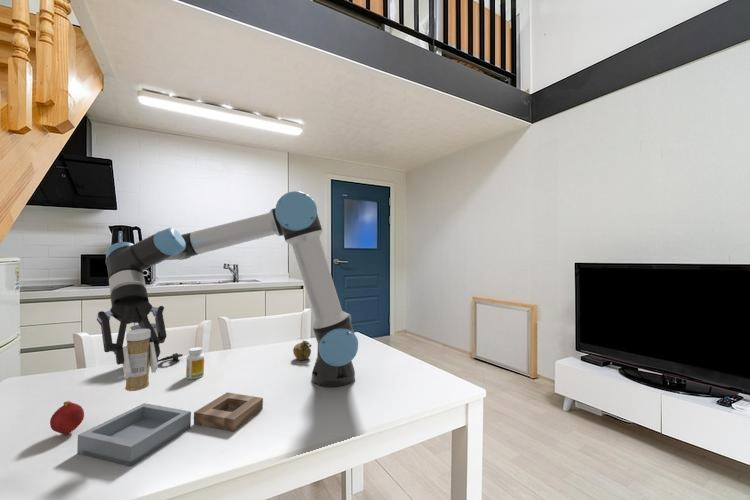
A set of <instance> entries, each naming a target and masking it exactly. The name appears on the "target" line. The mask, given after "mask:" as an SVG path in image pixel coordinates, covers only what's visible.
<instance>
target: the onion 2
mask: <svg viewBox="0 0 750 500" xmlns="http://www.w3.org/2000/svg"><path fill="white" fill-rule="evenodd" d="M312 346H313V345H312V344H311V343H310V342H309V341H307V340H302V342H300V343H297V344H295V345H294V346H293V349H292V351H293V355H294V357H295V358H296V359H297V360H299V361H306V360H307V359H308V358H310V357H311V353H312V350H311V347H312Z"/></svg>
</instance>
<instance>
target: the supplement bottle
mask: <svg viewBox="0 0 750 500" xmlns="http://www.w3.org/2000/svg"><path fill="white" fill-rule="evenodd" d="M188 354H189V355H188V356H187V357H186V367H185V368H186V369H185V371H186V373H185V375H186V376H185V377H186V379H188V380H194V379H195V380H196V379H199V378H202V377H203V376H204V374H205V373H204V372H205V354H204V353H203V347H200V346H199V347H196V346H195V347H191V348H189V350H188Z"/></svg>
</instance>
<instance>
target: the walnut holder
mask: <svg viewBox="0 0 750 500" xmlns="http://www.w3.org/2000/svg"><path fill="white" fill-rule="evenodd" d="M263 408H264V398H263V397H260V396H259V397H258V396H253V395H246V394H241V393H233V392H225V393H224V394H222V395H220V396H218V397H217V398H216V399H214V400H212V401H211V402H209V403H207V404H205V405H204V406H202V407H200V408H199V409H197V410H195V411H194V412H193V425H195V426H196V425H197V426H203V427H209V428H213V429H217V430H224V431H228V432H235V431H236V430H238V429H239V428H241V426H243V425H244V424H245V423H246V422H248V421H249V420H250V419H251V418H253V417H254V416H256V414H258V413H259V412H260V411H262V410H263ZM228 409H229V410H233V411H227V410H228Z"/></svg>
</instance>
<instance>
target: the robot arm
mask: <svg viewBox="0 0 750 500" xmlns="http://www.w3.org/2000/svg"><path fill="white" fill-rule="evenodd" d="M320 221H321V220H320V218H319V214H318V207H317V205H316V202H315V200H314V199H313V198H312V197H311V196H310V195H309V194H307V193H305V192H302V191H298V190H297V191H296V190H294V191H293V190H292V191H288V192H286V193H284V194H283V195H282V196H280V197H279V199H278V200H277V202H276V204H275V208H271V209H270V210H269V212H267V213H263V214H259V215H254V216H252V217H246V218H242V219H239V220H236V221H232V222H228V223H222V224H220V225H215V226H211V227H207V228H203V229H199V230H196V231H192V232H188V233H183V234H181V233H180V231H178V230H177V229H175V228H173V227H167V228H165V229H162V230H159V231H157V232H156V233H154V234H152V235H150V236H148V237H146V238H144V239H142V240H140V241H138V242H136V243H132V242H128V241H127V242H126V241H122V242H116V243H114V244H113V243H112V244H111V245H110V246H109V247H107V249H106V252H105V266H106V269H107V274H108V286H109V294H110V303H111V304H110V305H111V307H110V310H107V311H103V310H101V311H98V313H97V317H96V322H98V324H99V325H100V328H101V335H102V336H101V337H102V344H103V351H104V352H105V353H109V352H110V353H111V352H112V353H114V355H115V363H116V364H117V366H118V365H122V370H123V378H124V379H125V380H126V378H129V376H130V373H131V369H130V362H129V355H128V348H127V345H126V346H124V340H125V337H126V330H127V327H128V326H127V325H130V324H137V325H139V326H141V328H142V329H150V330H151V337H150V340H149V359H150V371H151V373H152V374H153V373H156V372H157V369H158V368H159V365H158V364H159V362H158V363H157V358H156V357H158V358H159V356H160V355H161V347H160V344H164V343H165V342H166V338H167V330H166V325H165V319H164V314H163V312H164V310H165V307H164V306H163V305H160V306H153V305H152V304H151V303H150V300H149V295H148V291H147V286H146V279H145V274H144V271H146V270H147V269H149V268H151V267H153V266H156V265H157V264H160V263H162V262H164V261H173V260H176V261H177V260H180V261H181V260H182V261H183V260H188V259H190V258H191V257H194V256H198V255H202V254H205V253H209V252H213V251H216V250H220V249H224V248H228V247H233V246H236V245H240V244H243V243H247V242H248V243H249V242H251V241H255V240H259V239H263V238H266V237H270V236H274V235H277V236H278V237H282V236H283V238H284V240H285V243H287V244H289V245H291V246H292V251H293V253H294V256H295V259H296V262H297V266H298V268H299V272H300V275H301V278H302V281H303V283H304V285H303V286H304V288H305V291H306V295H307V297H308V301H309V303H310V306H311V310H312V313H313V315H314V319H315V320H314V322H313V324H312V330H313V333H314V336H315V340H316V343H317V357H316V360H315V362H314V365H313V370H312V371H311V380H312V383H314V384H316V385H318V386H322V387H329V388H331V387H333V388H337V387H341V386H342V387H343V386H346V385H349V384H351V383H353V381H354V380H355V378H356V371H355V367H354V363H353V360H354V359H355V357H356V355H357V353H358V350H359V339H358V338H357V335H356V334H355V331H354V329H353V325H352V320H353V319H352V315H351V314H350V313H348V312H345V311H343V310H342V309H343V308H342V306H341V302H340V300H339V296H338V293H337V290H336V286H335V283H334V280H333V277H332V274H331V270H330V268H329V264H328V260H327V256H326V254H325V251H324V248H323V244H322V242H321V239H320V238H321V236H322V233H323V228H322V226H321V225H322V224H321V222H320ZM150 313H152V315H153V317H155V318H154V321H155V324H156V328H157V334H158V337H157V335H156V333H155V331H154V329H153V327H152V326H151V324H152V323H151V322H150V320H149V316H148V315H149V314H150ZM111 317H113V318H114V319H116V320H117V321H119V322H120V323H119V328H118V333H117V337H116V341H115V343H114V342H113V337H112V330H111V325H110V323H111V322H110V320H111Z"/></svg>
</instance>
